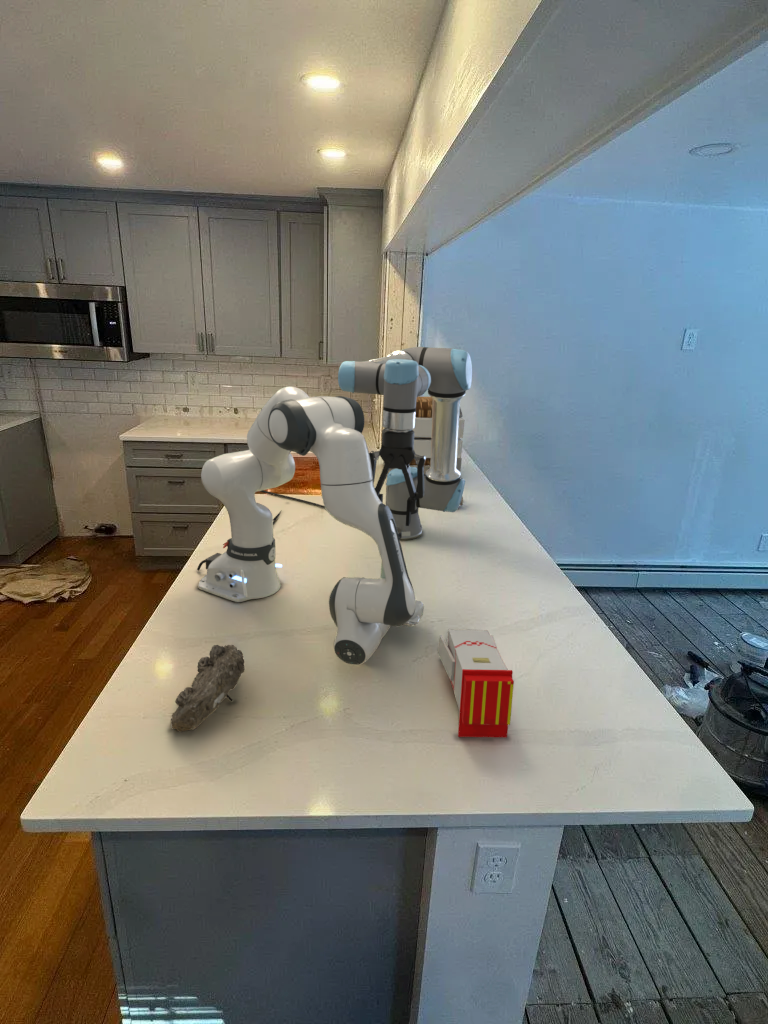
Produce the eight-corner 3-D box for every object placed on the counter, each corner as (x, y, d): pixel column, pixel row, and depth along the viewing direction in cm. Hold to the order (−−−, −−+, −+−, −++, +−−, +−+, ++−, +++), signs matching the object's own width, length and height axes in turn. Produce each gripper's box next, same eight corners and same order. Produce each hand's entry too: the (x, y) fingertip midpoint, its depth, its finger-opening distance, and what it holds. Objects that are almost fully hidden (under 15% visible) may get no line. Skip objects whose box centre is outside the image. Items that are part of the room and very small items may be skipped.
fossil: (195, 646, 122) (244, 615, 117) (225, 676, 125) (275, 646, 120) (147, 725, 102) (204, 691, 98) (185, 758, 105) (242, 726, 100)
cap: (393, 542, 137) (393, 535, 136) (380, 537, 140) (380, 530, 139) (405, 537, 140) (405, 531, 139) (392, 532, 143) (392, 526, 142)
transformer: (382, 463, 289) (386, 382, 275) (445, 464, 293) (451, 384, 279) (390, 482, 257) (394, 392, 243) (460, 483, 261) (468, 394, 247)
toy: (488, 613, 130) (523, 677, 101) (484, 667, 133) (517, 744, 104) (435, 612, 130) (455, 676, 101) (432, 666, 133) (451, 743, 103)
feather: (288, 505, 226) (290, 501, 226) (271, 529, 199) (273, 524, 199) (284, 503, 226) (287, 499, 225) (266, 526, 199) (269, 522, 199)
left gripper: (416, 614, 130) (430, 588, 142) (334, 597, 135) (354, 574, 148) (415, 638, 132) (429, 610, 144) (333, 621, 137) (353, 595, 150)
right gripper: (442, 429, 132) (435, 521, 140) (361, 422, 136) (358, 512, 144) (438, 435, 125) (431, 532, 133) (353, 428, 129) (351, 523, 137)
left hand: (390, 591), depth 146 cm, fingers closed on bottle, 5 cm apart
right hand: (393, 522), depth 138 cm, fingers open, 6 cm apart
